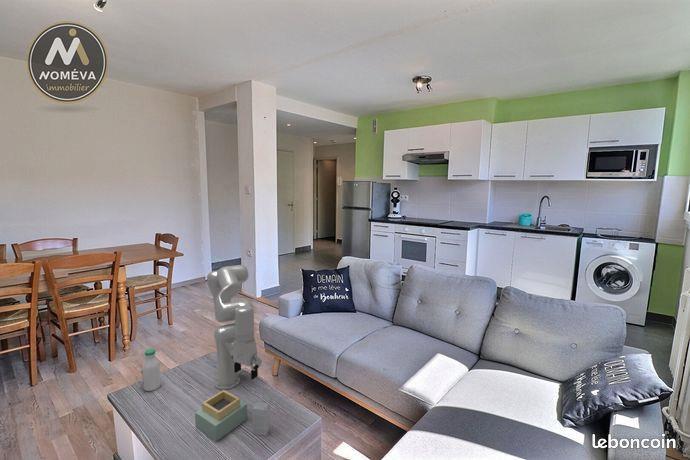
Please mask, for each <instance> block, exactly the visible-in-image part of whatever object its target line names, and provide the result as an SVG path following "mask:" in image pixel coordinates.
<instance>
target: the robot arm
mask: <svg viewBox="0 0 690 460" xmlns="http://www.w3.org/2000/svg"><path fill="white" fill-rule="evenodd" d="M248 279H249V270H248V268H247V267H246V266H245V265H244V264H235V265H226V266H223V267H220V268H219V269H218V270H213V271H210V272H209V273H208V274H207V275H206V281H207V286H208V288H209V291H210V292H211V295H212V298H213V306H214V315H215V319H216V322H218V323H227V324H223V325H220V326H217V328H216V329H215V330H214V332H213V336H214V340H215V341H214V342H215V348H216V367H217V368H216V369H217V372H216V375H217V378H216V379H215V380H214V387H215V388H217V390H222V391H223V390H225V391H226V390H230V389H233V388H235V387H236V386H238V385H239V383H241V377H240V374H242V373H243V372H245V368H244V367H245V366H246V367H250V368H251V370H250V379H251V380H254V379H256V378H257V377H258V375H259V374H258V373H259V371H258V370H259V368H260V367H261V365H262V364H263V360H262V359H261V358H260V357H259V356H258V349H257V341H256V339H255V310H254V304H253V302H252V301H251V300H250V299H241V300H235V301H232V299H233V298H235V297H236V296H237V295H239V294H240V292H241V290H242V285H241V284H243V283H245V282H247V280H248ZM232 321H234V322H233V323H228V322H232ZM242 366H244V367H243V368H242Z"/></svg>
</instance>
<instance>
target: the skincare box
mask: <svg viewBox="0 0 690 460" xmlns="http://www.w3.org/2000/svg"><path fill="white" fill-rule="evenodd" d="M251 411H252V435H255V436H256V435H258V436H267V435H268V433H269V430H270V403H268V402H267V403H266V402H255V404H254V405H253V406H252V409H251Z"/></svg>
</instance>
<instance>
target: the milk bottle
mask: <svg viewBox="0 0 690 460" xmlns="http://www.w3.org/2000/svg"><path fill="white" fill-rule="evenodd" d="M144 357H145V358H144V361H143V363H142V367H141V368H142V369H141V372H142V373H141V375H142V388H143V391H145V392H153V391H155V390H156V391H157V389H159V388H160V387H161V383H162V381H161V380H162V379H161V378H162V377H161V365H160V361H159V360H158V358H157V356H156V348H148V349H146V350H144Z"/></svg>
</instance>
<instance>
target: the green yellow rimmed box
mask: <svg viewBox="0 0 690 460" xmlns="http://www.w3.org/2000/svg"><path fill="white" fill-rule="evenodd" d="M201 405H202V407H200V409H198V410H196V411H195V412H194V419H195V420H194V421H195V428H196V429H197V430H198V431H201V432H202V433H203V434H205V435H206V436H208V437H209V438H210V439H212V440H214V441H215V442H218V441H219V440H220V439H222V438H223V437H224V436H225V435H227V434H229V433H230V432H231V431H232V430H234V429H235V428H237V426H239V425H240V424H242V423H243V422H245V421H246V420H247V419H248V403H246V402H244V401H242V400H241V398H240V397H238V396H236V395H234V394H232V393H230V392H229V391H227V390H226V389H225V390H223V389H222V390H221V391H220V392H218V393H216V394H215V395H213V396H211V397H210V398H208V399H206V400H205V401H203V402H201Z"/></svg>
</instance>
